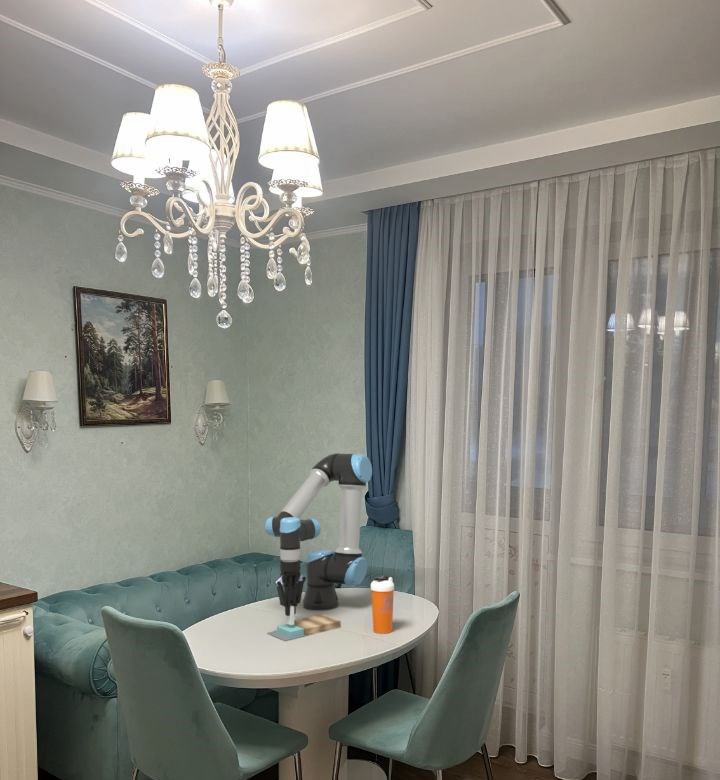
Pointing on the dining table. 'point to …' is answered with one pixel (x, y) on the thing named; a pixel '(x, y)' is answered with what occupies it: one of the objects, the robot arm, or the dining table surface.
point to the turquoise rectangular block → (290, 630)
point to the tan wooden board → (317, 624)
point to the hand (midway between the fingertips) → (290, 623)
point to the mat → (283, 636)
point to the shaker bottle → (382, 604)
